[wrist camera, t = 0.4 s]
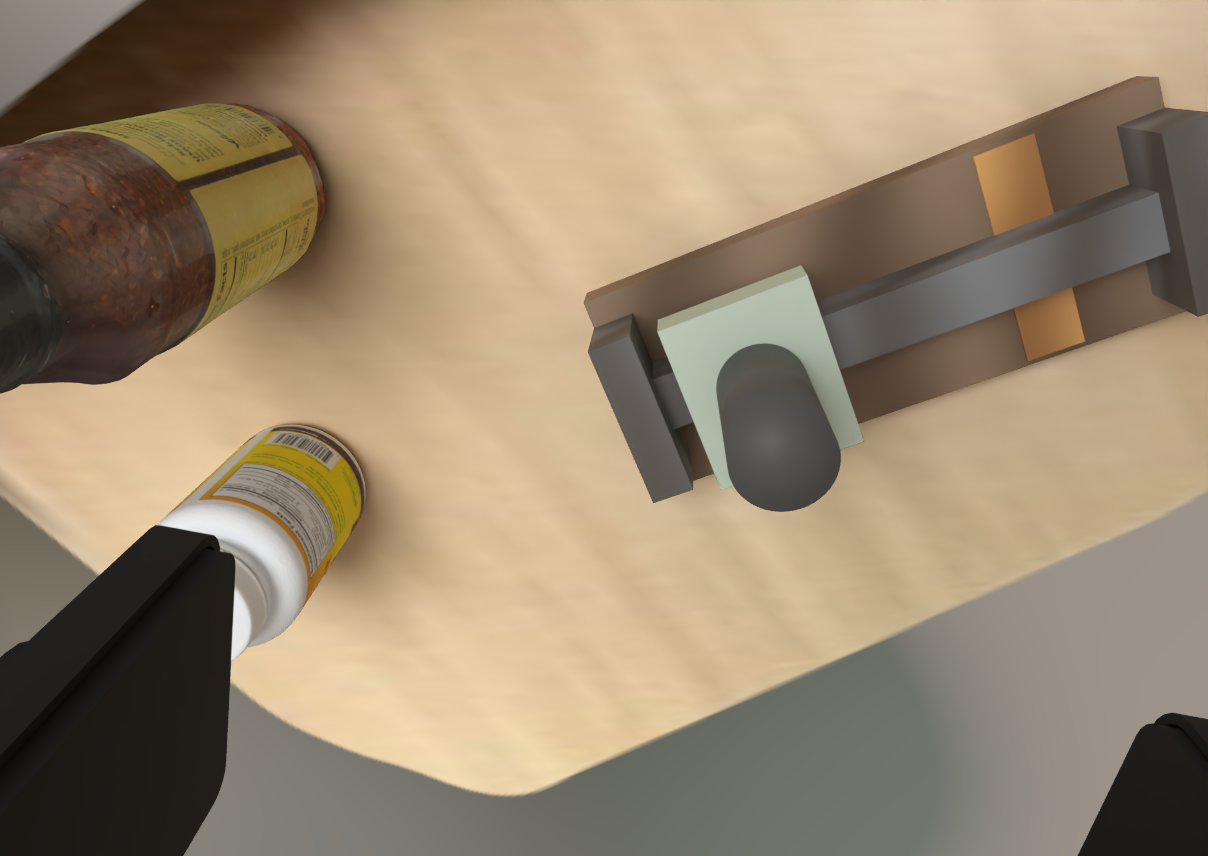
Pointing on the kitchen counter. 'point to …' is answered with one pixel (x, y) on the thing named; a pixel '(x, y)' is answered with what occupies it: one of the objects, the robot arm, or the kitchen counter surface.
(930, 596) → the kitchen counter surface
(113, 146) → the sauce bottle
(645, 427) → the rail base
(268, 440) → the supplement bottle
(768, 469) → the carriage
